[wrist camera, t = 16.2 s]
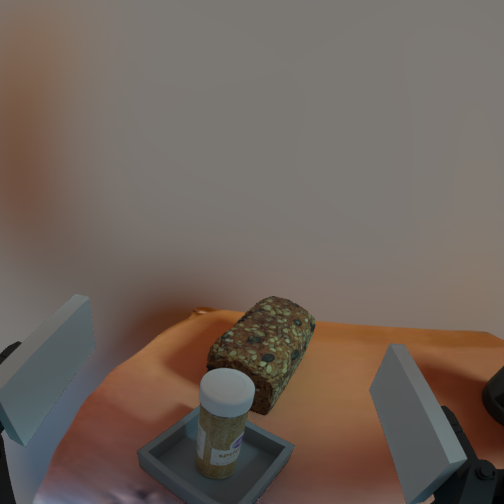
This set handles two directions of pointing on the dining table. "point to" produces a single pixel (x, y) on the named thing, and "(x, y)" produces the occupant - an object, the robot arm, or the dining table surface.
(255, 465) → the tray
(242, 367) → the bread
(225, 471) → the sprinkles bottle
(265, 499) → the dining table surface
